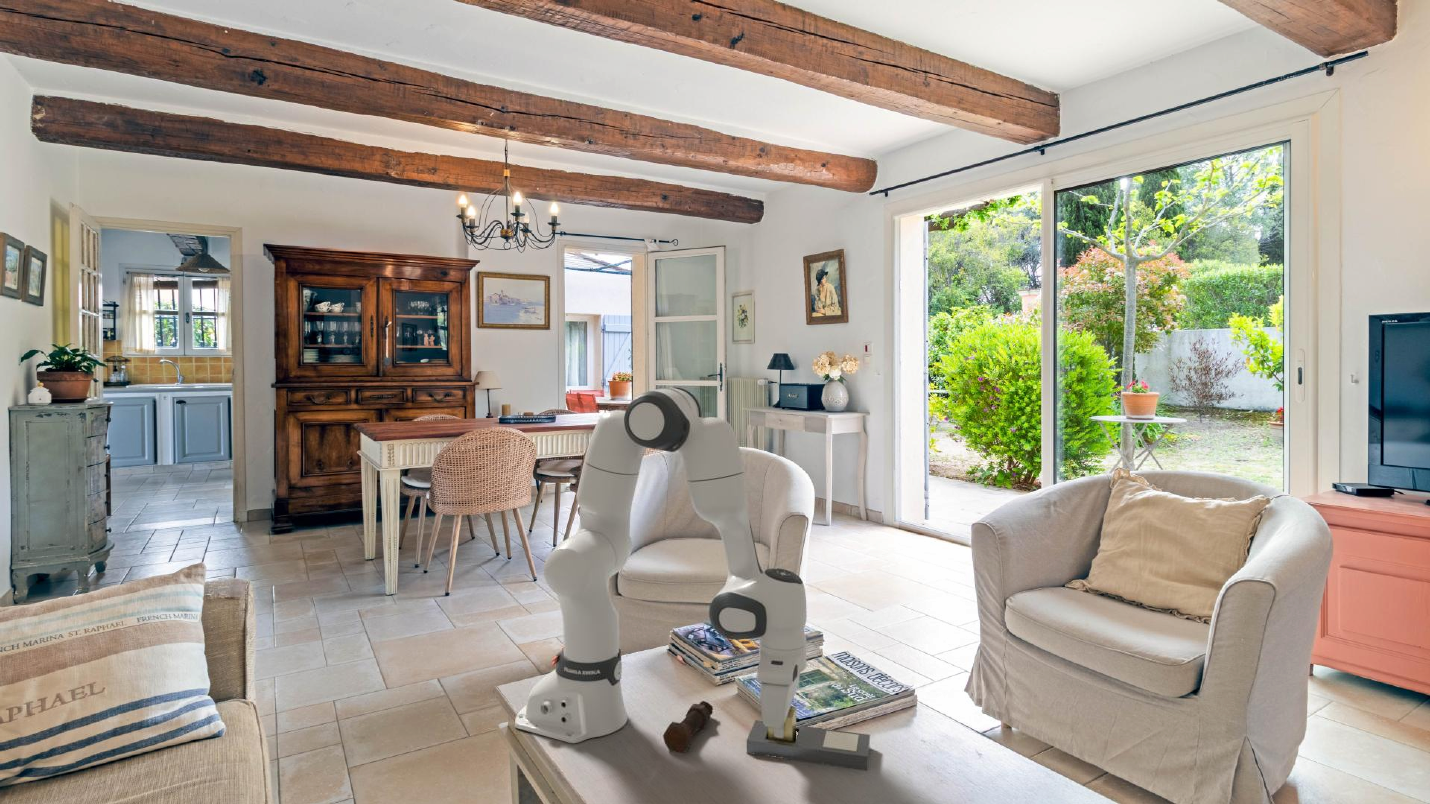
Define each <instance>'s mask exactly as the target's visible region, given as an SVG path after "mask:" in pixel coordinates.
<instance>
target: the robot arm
mask: <svg viewBox="0 0 1430 804" xmlns="http://www.w3.org/2000/svg"><path fill="white" fill-rule="evenodd" d="M647 449H650V450H657V451H663V452H668V453H674V452H678V453H679V454H680V456H681V457H682V460H683V463H684V468H685V474H686V476H685V477H686V483H687V487H688V489H687V490H688V493H689V497H690V500H691V503H692V506H693V509H694V512H695V513H696V514H697V516H699V517H700V518H701V519H702V520H704V521H706V522H708V523H710V524H712V525H714V527H715V528H716V529H717V530H718V532H719V535H720V537H721V541H722V543H721V544H722V547H723V552H724V556H725V557H724V558H725V561H726V565H727V579H726V581H725V584H724V586H723V587H722V588H721V589H720V590H719V591H718V592H717V593H716V595H715V596H714V598H713V599H712V600H711V602H710V604H709V609H708V617H709V622H710V624H711V626H712V628H713V629H714V630H715V632H717V633H718V634H719V635H720V636H721V637H723V638H725V639H729V640H734V641H736V640H737V641H739V640H753V639H757V638H758V641H759V642H758V643H759V644H758V646H759V648H758V649H759V650H758V651H759V652H758V668H757V672H756V675H757V676H756V677H757V682H758V683H760V706H761V708H760V709H761V719H762V720H761V721H763V723H764V725H765V726H766V727H772V728H774V736H775V737H778V738H783V737H784V734H785V725H784V723H785V721H786V718H787V715H788V712H789V709H790V707H791V706H792V705H793V704H792V703H793V700H794V698H795V695H796V692H797V690H798V687H799V684H800V677H801V676H800V675H801V673H802V672H803V671H804V670H805V669H806V668H807V637H806V634H805V633H806V632H805V627H806V623H807V619H808V618H807V613H808V612H807V596H806V595H807V594H806V588H805V584H804V581H803V579H802V577H800V576H799V575H797V573H794V572H792V571H791V570H787V569H785V568H773V567H772V568H768V569H765V570H762V569H763V568H762V567H761V564H760V561H759V557H758V553H757V547H756V544H755V538H754V534H753V529H752V525H751V524H752V523H751V520H750V516H749V515H750V513H749V503H748V491H747V490H748V489H747V481H746V474H745V467H744V463H743V462H744V461H743V458H742V454H741V450H740V447H739V443H738V439H737V436H736V435H735V432H734V429H733V427H732V425H731V424H730V423H729V422H728V421H727V420H725V419H722V418H721V417H720V418H719V417H715V416H712V417H711V416H710V417H702V407H701V405H700V402H699V400H698V399H697V397H696V396H695V395H694V394H693V393H691V392H690V391H688V390H686V389H684V388H680V387H660V388H656V389H653V390H651V391H646V392H641V393H640V394H639V395H637V396H636V397H634V398H633V399H632V400H631V401H630V403H629V404H628V406H626V409H625V410H621V409H620V410H619V409H615V410H610V411H607V412H605V413H603V414H602V415H601V416H600V417H599V419H597V423H596V424H595V427H594V428H593V431H592V433H591V437H590V439H589V442H588V445H587V449H586V453H585V456H584V460H583V465H582V469H581V474H580V478H579V483H578V488H577V491H576V498H575V499H576V501H577V503H578V506H579V527H578V528H577V529H578V530H577V531H576V532H575V535H573V536H570V537H569V538H567V539H564V540H563V541H562V542H559V543H558V544H557V546H555V547H554V549H553V550H552V551H551V552H550V553H549V554H548V556H547V558H546V560H545V562H544V565H543V576H544V580H545V582H546V584H547V586H548V588H549V589H550V590H551V592H553V593H555V594H556V596H557V599H558V603H559V606H560V611H561V616H562V633H563V637H562V638H563V646H562V648H561V651H559V652H558V653H557V654H556V655H555V657H554V658H552V660H551V662H552V664H551V666H552V667H553V666H556V668H554V670H552V671H550V672H549V673H548V674H546V676H545V677H543V678H542V679H541V680H540V681H538V682H537V683H536V684H534V686H533V688H532V689H531V690H530V691H529V692H530V693H529V695H528V697H527V702H526V703H527V704H526V705H525V706H523V707H522V708H521V709H520V711H519V712H518V713H517V715H516V717H515V719H514V720H515V721H514V727H515V728H516V729H520V730H523V731H527V732H530V733H534V734H536V735H541V736H545V737H547V738H551V739H555V740H557V741H562V742H566V743H569V744H577V743H580V742H583V741H586V740H587V739H591V738H596V737H597V738H598V737H602V736H606V735H610V734H612V733H615V732H616V731H618V730H620V729H621V728H622V727H624V726H625V725H626V723H627V722H628V717H629V716H628V714H627V711H626V706H625V702H624V697H623V692H622V684H621V683H622V682H621V679H622V671H623V664H622V650H621V649H620V623H619V621H620V620H619V619H620V617H619V616H620V615H619V612H618V610H617V609H616V607H615V606H614V605H613V603H612V599H611V595H610V590H609V589H610V588H609V584H610V579H611V578H612V577H613V576H614V575H616V574H617V573H619V572H620V571H622V569H624V567H625V565H626V564H627V562H628V560H629V558H630V557H631V554H632V550H633V542H632V541H633V540H632V538H631V536H630V534H631V533H630V528H631V527H630V526H631V511H632V504H633V500H634V496H635V491H636V487H637V483H638V478H639V475H640V471H641V470H640V469H641V466H642V462H643V461H642V460H643V459H644V458H643V457H644V455H645V452H646V450H647ZM555 664H556V665H555Z"/></svg>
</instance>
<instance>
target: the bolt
mask: <svg viewBox="0 0 1430 804" xmlns="http://www.w3.org/2000/svg"><path fill="white" fill-rule="evenodd" d="M713 707H714V706H712V704H710V703H709V702H707V701H705V700H701V701H700V702H699V703H693V704H692V705H691V706H690V707H689V709H688V710H687V712H686V714H685V717H684V718H683V719H682V721H681V722H676V721H672V722H671V723H669V725H668V726H667V728H666V730H665V731H664V734H663V735H662V737H663V741H664V744H665V746H666V747H667V749H668V750H669V751H671V752H674V753H679V754H685V753H686V752H687V751H688V749H690V748H689V747H690V746H691V744H692V743H693V741H694V737H693V735H695V733H696V732H697V731H698V730H703V729H704V728H706V726H707V725H708V723H709V722H710V719H711V717H712V714H713V713H714V708H713Z"/></svg>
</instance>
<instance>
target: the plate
mask: <svg viewBox="0 0 1430 804" xmlns="http://www.w3.org/2000/svg"><path fill="white" fill-rule="evenodd" d="M799 726H800V727H796V731H797V732H798V735H797V739H796V742H795V743H788V742H780V741H773V740H768V727H766V726H765V725H764V723H763V720H758V719H756V720H755V721H754V722H753V725H752V728H751V730H750V732H749V734H748V737H747V739H746V754H749V753H752V754H751V755H756V754H760V755H759V756H763V755H769V756H768V757H770V756H776V757H775V758H777V757H783V758H782V759H784V758H787V760H791V759H794V760H793V761H799V762H806V763H813V764H814V763H815V764H820V763H824V764H823V765H827V764H828V765H829V766H834V765H837V766H836V767H841V766H843V767H842V768H849V769H857V770H864V771H868V765H869V759H870V757H869V756H870V747H871V746H870V745H871V742H870V741H871V740H870V739H871V734H868V733H867V734H866V733H860V732H851V731H844V730H838V729H837V730H836V729H829V728H828V729H827V728H821V727H813V726H806V725H805V726H804V725H799ZM753 753H754V754H753Z"/></svg>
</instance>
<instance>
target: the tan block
mask: <svg viewBox="0 0 1430 804" xmlns="http://www.w3.org/2000/svg"><path fill="white" fill-rule="evenodd" d="M784 725H785V734H784V737H783V738H778V737H775V736H774V728H772V727H768V740H773V741H780V742H788V743H795V742H796V725H797V706H792V705H791V707H790V709H789V712H788V715H787V718H786V721H785V723H784Z"/></svg>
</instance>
